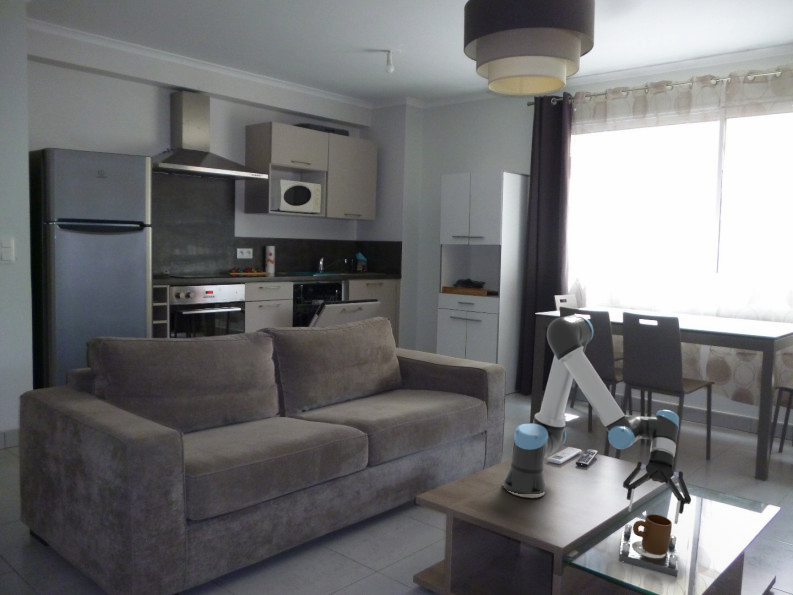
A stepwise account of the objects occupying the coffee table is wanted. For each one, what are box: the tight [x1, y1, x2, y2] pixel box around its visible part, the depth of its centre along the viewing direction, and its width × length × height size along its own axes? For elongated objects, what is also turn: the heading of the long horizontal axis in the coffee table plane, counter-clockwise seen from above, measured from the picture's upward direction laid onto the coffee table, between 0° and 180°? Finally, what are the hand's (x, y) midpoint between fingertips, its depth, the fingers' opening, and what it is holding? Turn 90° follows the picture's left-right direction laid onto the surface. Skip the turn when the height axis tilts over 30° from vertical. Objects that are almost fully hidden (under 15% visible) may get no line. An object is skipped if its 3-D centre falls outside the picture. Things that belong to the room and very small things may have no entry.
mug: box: [632, 513, 673, 555], centre depth 198 cm, size 12×8×9 cm, turn 102°
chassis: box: [618, 523, 679, 577], centre depth 199 cm, size 16×16×5 cm
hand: (652, 516), depth 204 cm, fingers open, 13 cm apart
